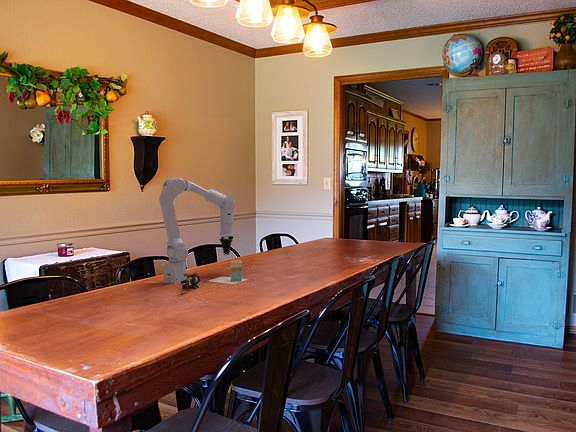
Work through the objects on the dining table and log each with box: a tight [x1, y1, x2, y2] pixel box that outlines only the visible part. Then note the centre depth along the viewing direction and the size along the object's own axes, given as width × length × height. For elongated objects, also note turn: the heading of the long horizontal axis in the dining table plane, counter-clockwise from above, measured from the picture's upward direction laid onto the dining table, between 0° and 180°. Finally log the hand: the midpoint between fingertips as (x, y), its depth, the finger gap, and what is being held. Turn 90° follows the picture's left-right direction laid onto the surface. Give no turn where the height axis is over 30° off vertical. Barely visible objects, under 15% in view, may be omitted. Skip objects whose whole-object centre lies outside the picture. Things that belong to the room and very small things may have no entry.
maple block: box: [230, 260, 243, 273], centre depth 213 cm, size 4×4×4 cm
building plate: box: [208, 276, 248, 285], centre depth 213 cm, size 11×14×1 cm
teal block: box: [230, 271, 243, 282], centre depth 213 cm, size 4×4×4 cm
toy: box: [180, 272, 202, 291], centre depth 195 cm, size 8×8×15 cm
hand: (226, 253), depth 224 cm, fingers open, 7 cm apart
